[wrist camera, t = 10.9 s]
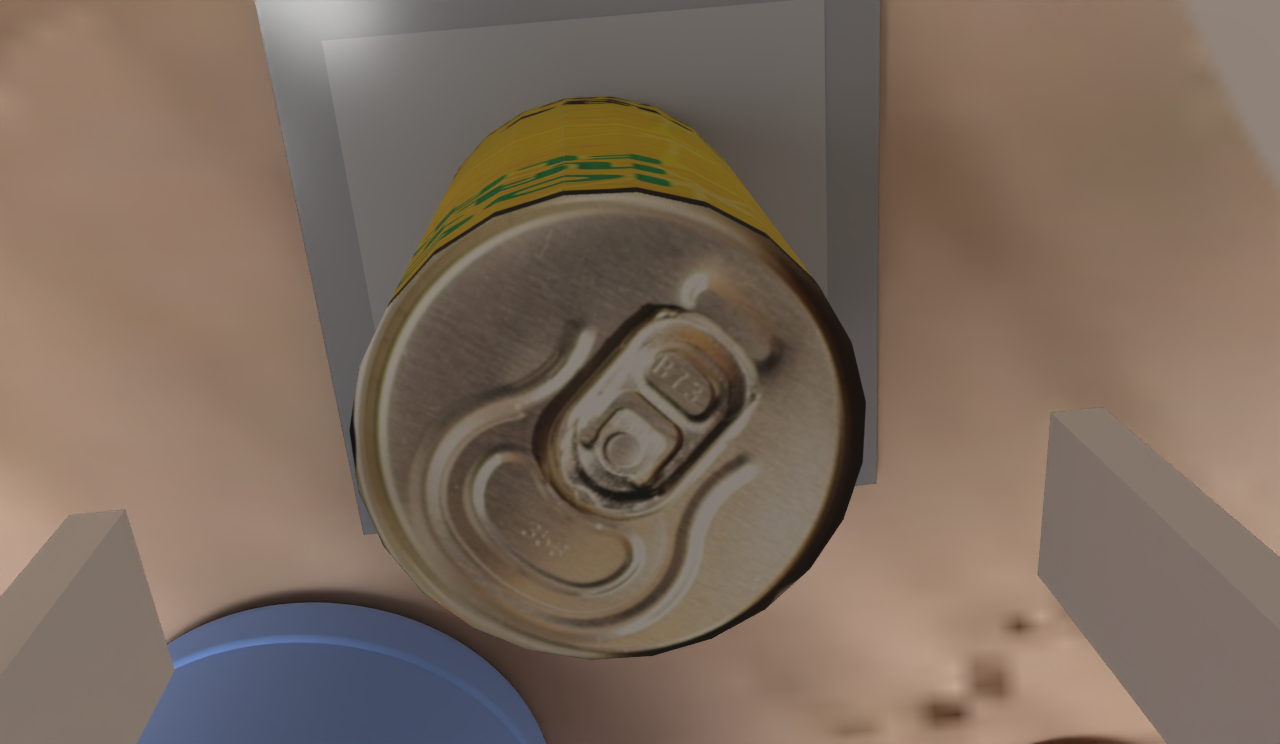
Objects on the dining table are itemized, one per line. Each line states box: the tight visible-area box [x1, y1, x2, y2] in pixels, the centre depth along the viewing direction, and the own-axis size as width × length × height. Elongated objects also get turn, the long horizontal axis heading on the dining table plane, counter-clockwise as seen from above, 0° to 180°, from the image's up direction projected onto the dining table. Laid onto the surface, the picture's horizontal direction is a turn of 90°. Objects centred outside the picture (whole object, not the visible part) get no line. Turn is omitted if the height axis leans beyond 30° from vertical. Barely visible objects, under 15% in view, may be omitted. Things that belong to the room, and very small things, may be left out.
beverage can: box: [349, 96, 866, 660], centre depth 24 cm, size 9×9×12 cm
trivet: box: [255, 0, 880, 535], centre depth 30 cm, size 16×16×1 cm
